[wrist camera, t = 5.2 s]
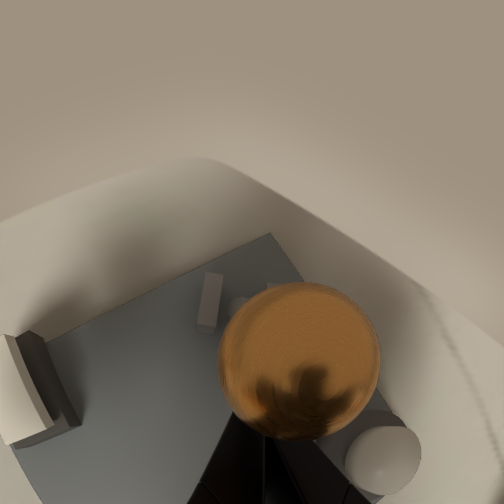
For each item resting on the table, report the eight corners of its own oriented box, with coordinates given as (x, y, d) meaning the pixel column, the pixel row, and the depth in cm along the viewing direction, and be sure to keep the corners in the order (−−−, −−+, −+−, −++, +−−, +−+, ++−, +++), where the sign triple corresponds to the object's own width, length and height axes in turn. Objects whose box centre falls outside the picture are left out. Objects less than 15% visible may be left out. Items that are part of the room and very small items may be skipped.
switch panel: (406, 456, 14) (439, 459, 11) (151, 606, 7) (147, 633, 4) (261, 241, 19) (274, 212, 16) (-6, 374, 12) (-36, 365, 9)
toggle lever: (262, 340, 14) (386, 465, 3) (207, 332, 14) (206, 468, 3) (272, 285, 15) (428, 296, 4) (216, 276, 14) (240, 264, 3)
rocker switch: (54, 424, 9) (46, 429, 8) (16, 441, 8) (6, 445, 7) (14, 336, 10) (3, 334, 9) (-22, 356, 9) (-34, 354, 8)
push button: (412, 457, 11) (430, 458, 10) (365, 501, 10) (381, 508, 9) (383, 412, 12) (401, 411, 11) (332, 457, 11) (347, 461, 10)
